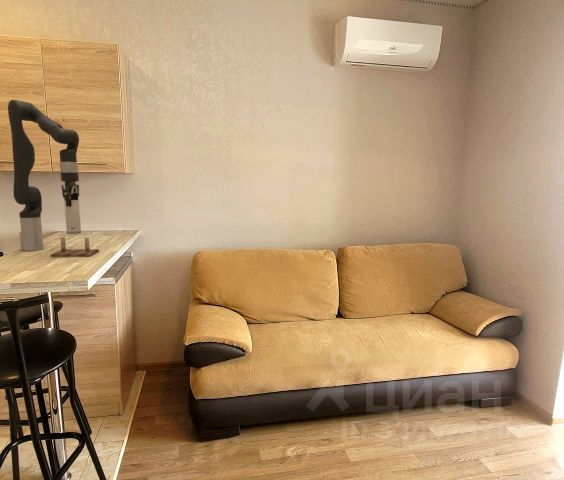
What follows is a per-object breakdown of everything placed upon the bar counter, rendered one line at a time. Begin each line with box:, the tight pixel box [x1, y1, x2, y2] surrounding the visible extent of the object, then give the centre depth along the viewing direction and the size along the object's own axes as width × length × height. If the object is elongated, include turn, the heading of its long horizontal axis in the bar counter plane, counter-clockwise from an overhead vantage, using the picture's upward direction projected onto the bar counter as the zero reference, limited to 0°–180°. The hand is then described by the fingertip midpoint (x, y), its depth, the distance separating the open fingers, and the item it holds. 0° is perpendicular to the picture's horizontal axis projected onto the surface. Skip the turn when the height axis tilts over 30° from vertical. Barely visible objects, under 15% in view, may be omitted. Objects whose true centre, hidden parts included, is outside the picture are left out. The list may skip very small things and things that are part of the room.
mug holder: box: [50, 236, 100, 258], centre depth 188 cm, size 18×12×8 cm, turn 97°
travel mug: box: [63, 193, 82, 235], centre depth 185 cm, size 6×7×20 cm
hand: (72, 205), depth 184 cm, fingers closed on travel mug, 6 cm apart
